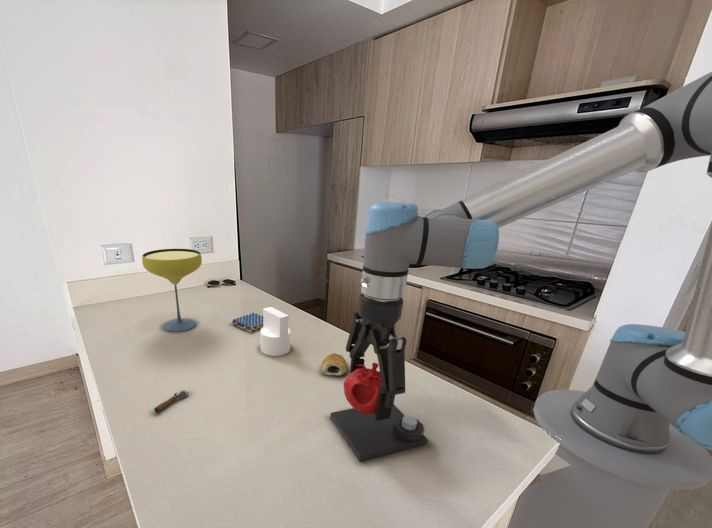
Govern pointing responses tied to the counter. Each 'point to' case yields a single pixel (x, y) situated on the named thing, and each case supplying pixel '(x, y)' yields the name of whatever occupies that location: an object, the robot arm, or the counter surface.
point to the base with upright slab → (274, 333)
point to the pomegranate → (363, 389)
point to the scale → (376, 433)
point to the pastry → (334, 365)
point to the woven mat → (249, 322)
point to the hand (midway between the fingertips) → (367, 401)
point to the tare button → (409, 423)
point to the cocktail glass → (173, 275)
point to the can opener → (170, 401)
